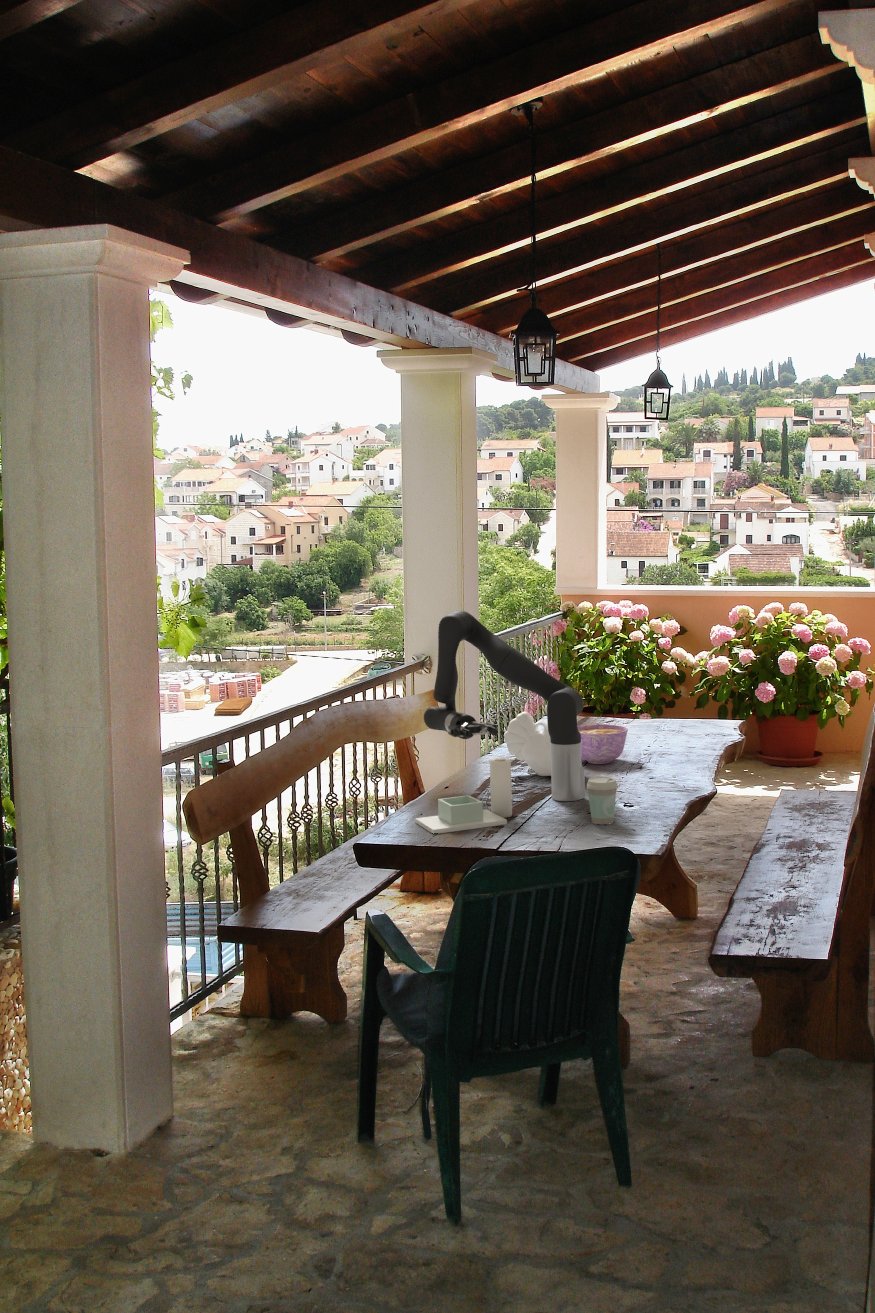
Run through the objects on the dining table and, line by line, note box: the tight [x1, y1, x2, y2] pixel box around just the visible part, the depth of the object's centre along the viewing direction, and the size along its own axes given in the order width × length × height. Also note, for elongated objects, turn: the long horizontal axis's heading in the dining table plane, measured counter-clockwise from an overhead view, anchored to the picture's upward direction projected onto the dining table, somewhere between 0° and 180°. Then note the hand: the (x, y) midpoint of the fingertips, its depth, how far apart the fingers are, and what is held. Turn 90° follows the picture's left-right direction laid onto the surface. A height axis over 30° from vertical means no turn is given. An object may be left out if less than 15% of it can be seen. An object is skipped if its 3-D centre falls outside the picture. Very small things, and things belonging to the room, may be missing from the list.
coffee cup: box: [585, 776, 618, 825], centre depth 308 cm, size 8×8×12 cm
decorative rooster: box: [503, 704, 579, 777], centre depth 373 cm, size 25×16×25 cm, turn 59°
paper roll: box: [489, 757, 513, 819], centre depth 319 cm, size 6×6×16 cm
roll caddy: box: [414, 795, 508, 835], centre depth 312 cm, size 22×14×6 cm, turn 112°
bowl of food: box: [577, 724, 629, 765], centre depth 390 cm, size 20×20×12 cm
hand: (482, 733), depth 329 cm, fingers open, 8 cm apart
